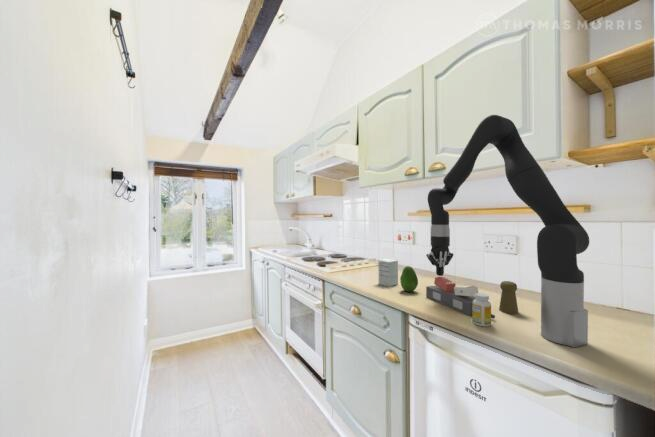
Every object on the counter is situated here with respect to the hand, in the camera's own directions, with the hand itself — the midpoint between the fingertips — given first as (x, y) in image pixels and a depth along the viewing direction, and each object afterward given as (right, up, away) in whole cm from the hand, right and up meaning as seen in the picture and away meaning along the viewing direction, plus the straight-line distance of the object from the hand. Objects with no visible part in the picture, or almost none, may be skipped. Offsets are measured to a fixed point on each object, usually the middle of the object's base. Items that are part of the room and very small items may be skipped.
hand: (440, 275), depth 114 cm
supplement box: (-17, -10, +24) cm, 31 cm away
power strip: (+3, -10, -10) cm, 15 cm away
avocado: (-10, -10, +11) cm, 18 cm away
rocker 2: (+5, -5, -13) cm, 15 cm away
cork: (+19, -10, -15) cm, 26 cm away
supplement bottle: (+3, -11, -26) cm, 28 cm away
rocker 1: (+1, -4, -2) cm, 5 cm away
